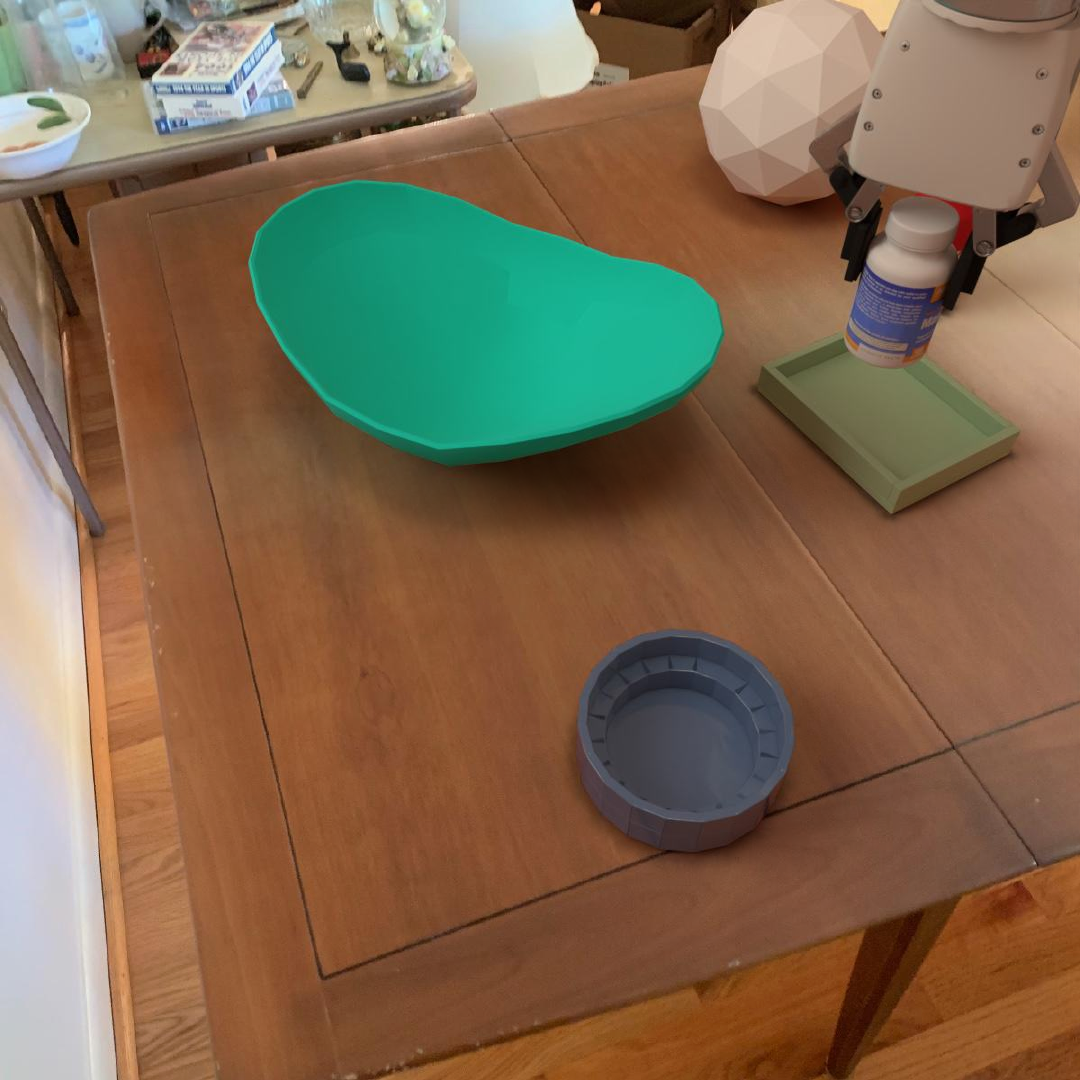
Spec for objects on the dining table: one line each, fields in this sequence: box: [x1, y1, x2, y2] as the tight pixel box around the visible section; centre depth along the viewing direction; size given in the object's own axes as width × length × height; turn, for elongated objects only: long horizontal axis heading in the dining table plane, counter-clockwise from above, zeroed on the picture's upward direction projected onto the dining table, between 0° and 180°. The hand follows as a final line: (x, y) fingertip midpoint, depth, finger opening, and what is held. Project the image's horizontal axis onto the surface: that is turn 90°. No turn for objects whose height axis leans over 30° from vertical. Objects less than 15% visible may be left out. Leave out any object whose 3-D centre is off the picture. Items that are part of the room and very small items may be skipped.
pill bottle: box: [844, 195, 960, 369], centre depth 61 cm, size 5×5×10 cm
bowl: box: [575, 628, 796, 853], centre depth 62 cm, size 13×13×5 cm
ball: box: [698, 0, 885, 207], centre depth 99 cm, size 19×20×20 cm
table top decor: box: [247, 179, 726, 467], centre depth 80 cm, size 40×28×13 cm
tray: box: [756, 329, 1022, 515], centre depth 82 cm, size 17×13×3 cm
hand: (904, 281), depth 61 cm, fingers closed on pill bottle, 5 cm apart
